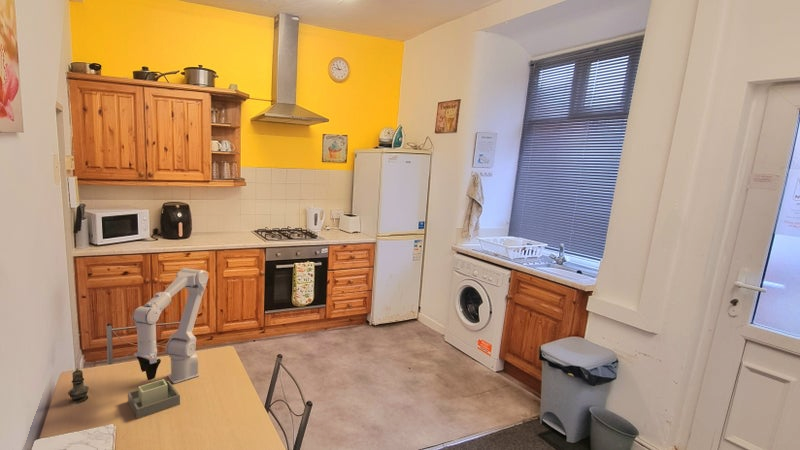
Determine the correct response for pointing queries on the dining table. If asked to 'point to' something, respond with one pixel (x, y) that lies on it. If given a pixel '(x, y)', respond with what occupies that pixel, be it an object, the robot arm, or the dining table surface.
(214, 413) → the dining table surface
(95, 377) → the dining table surface
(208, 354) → the dining table surface
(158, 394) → the small crate
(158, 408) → the big crate
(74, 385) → the dark ornate statuette
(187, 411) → the dining table surface
